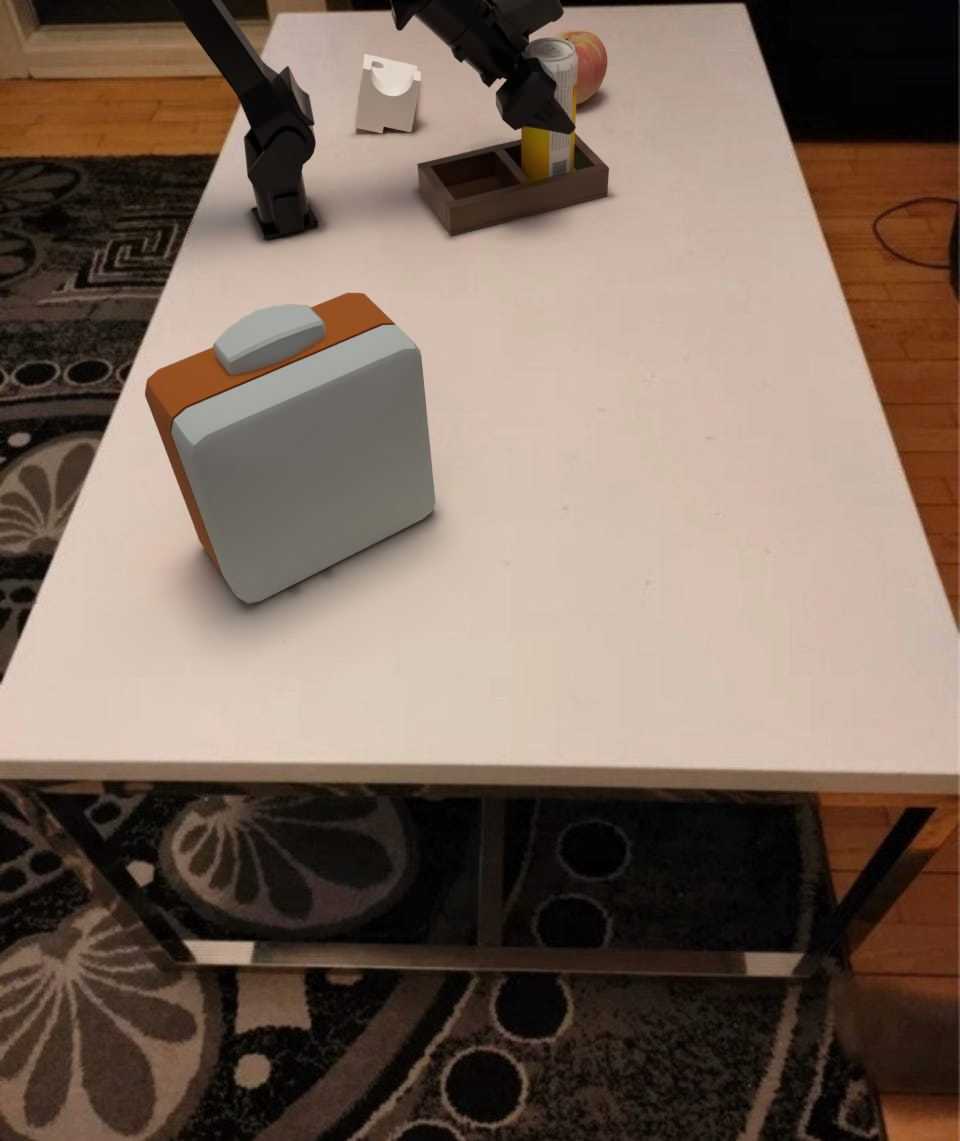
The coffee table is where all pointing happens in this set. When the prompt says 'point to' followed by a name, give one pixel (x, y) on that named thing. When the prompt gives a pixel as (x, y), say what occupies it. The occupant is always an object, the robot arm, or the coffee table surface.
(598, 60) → the apple
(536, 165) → the beer can
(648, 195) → the coffee table surface
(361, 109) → the bracket
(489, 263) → the coffee table surface
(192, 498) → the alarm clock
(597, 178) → the tray
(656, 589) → the coffee table surface
